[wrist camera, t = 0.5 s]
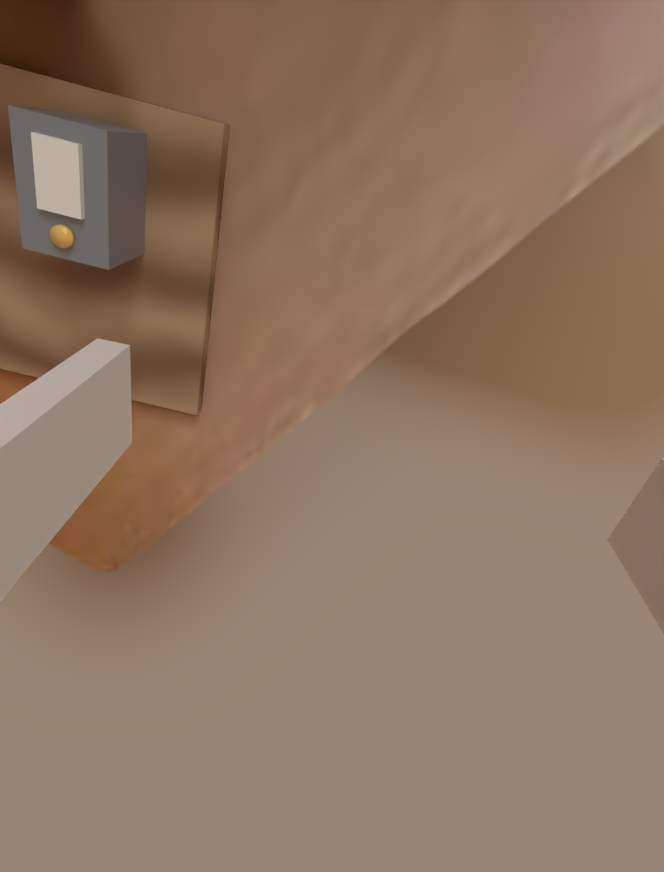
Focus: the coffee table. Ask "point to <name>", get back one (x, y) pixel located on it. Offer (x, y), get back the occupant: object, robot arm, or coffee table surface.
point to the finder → (79, 186)
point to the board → (131, 281)
